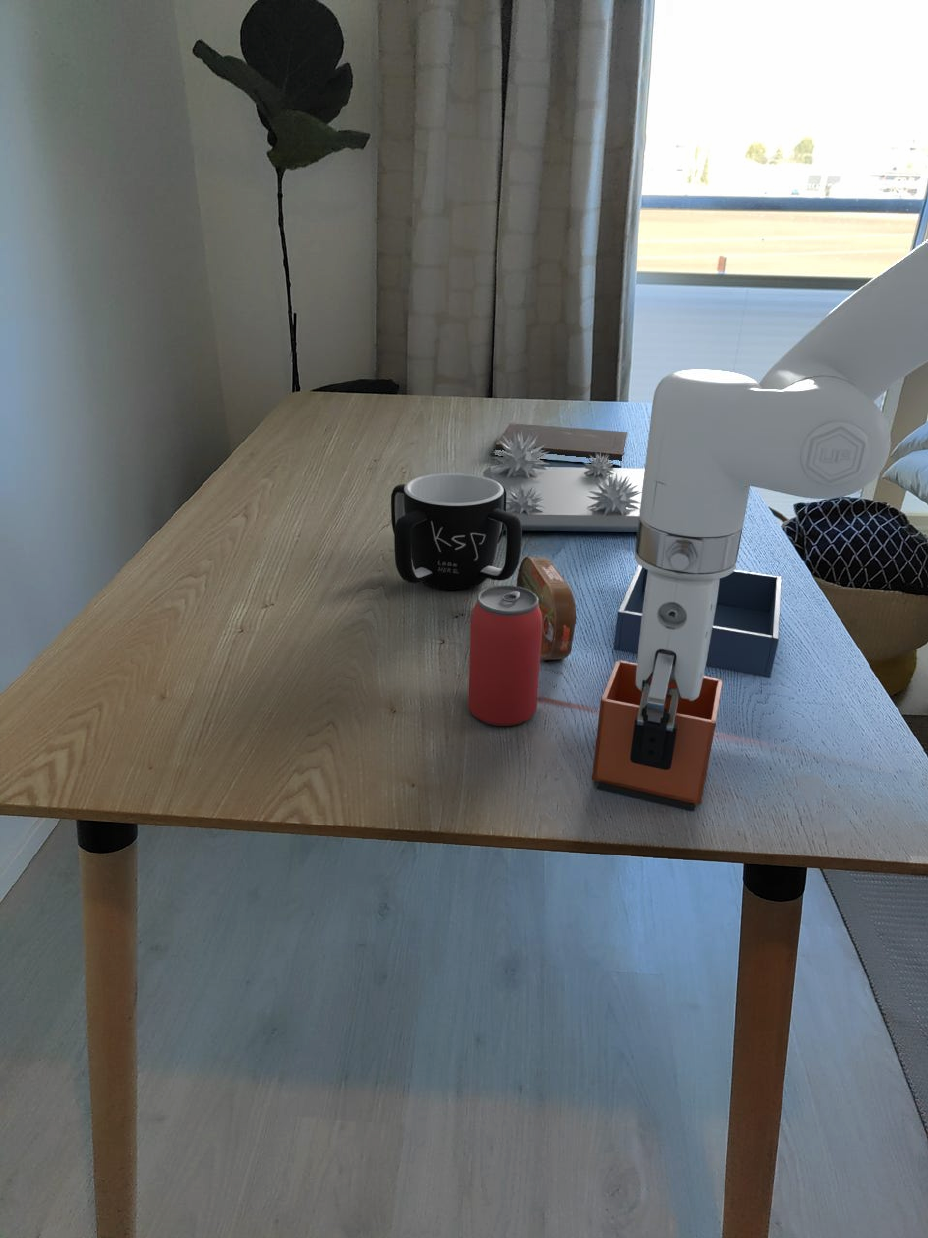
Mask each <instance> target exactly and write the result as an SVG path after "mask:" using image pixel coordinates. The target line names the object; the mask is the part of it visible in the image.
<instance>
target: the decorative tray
mask: <svg viewBox="0 0 928 1238" xmlns="http://www.w3.org/2000/svg"><path fill="white" fill-rule="evenodd" d="M533 434H534V433H533ZM501 436H503V435H502V434H501ZM529 436H530V435H529ZM537 436H538V435H537ZM503 437H504V436H503ZM532 437H533V435H532V436H531V437H530V439H529V437H528V438H527V440H526V442H525V443H524V444H523V437H522V430H521V436H520V437H519V433H518V438H516V435H515V432H514V444H513V443H512V441H511V440H510V442H509V441H508V440H507V439H506V438H505V437H504V439H505V441H506V443H507V444H508V446H509V447H508V446H506V445H505V444H504V443H502V442H501V441H499V442H500V443H501V445H502V446H503V447H504V449H505V450H506V452H507V453H503V452H496V451H495V450H494V451H493V453H494V454H495V453H496V454H499V455H501V456H503V457H501V456H491V459H495V460H497V461H499V462H502V463H500V464H498V465H490V466H489V467H488V468H486V469H485V470H484V471H483V472H482V474H483V475H482V476H483V477H486V478H489V479H492V480H494V481H496V482H498V483H499V484H501V485H503V486H504V487H505V490H506V512H509V513H511V514H514V515H516V516H517V517H518V518H519V520H520V522H521V526H522V531H547V532H549V531H551V532H553V531H554V532H608V533H609V532H611V533H612V532H616V533H619V532H620V533H621V532H622V533H637V530H638V521H639V512H640V505H641V496H642V488H643V479H644V471H645V468H625V467H623V468H622V467H621V468H620V467H619V468H617V467H614V466H613V465H615V464H613V463H610V462H611V461H613V460H611V461H609V462H608V460H609V459H610V458H609V459H607V458H608V456H609V455H608V456H607V454H606V456H607V457H606V456H605V457H604V455H603V457H602V458H601V452H600V457H599V456H598V455H597V453H596V460H595V459H594V458H592V457H593V456H592V457H591V456H590V457H591V458H592V460H593V461H591V460H590V459H589V458H588V459H589V461H590V462H591V464H585V463H583V464H584V465H586V466H584V467H565V466H562V467H561V466H542V465H549V463H547V462H544V461H543V460H538V459H537V458H539V457H541V456H543V455H544V454H546V453H548V452H545V453H541V452H543V451H544V450H541V451H539V450H540V449H541V448H542V447H544V446H545V445H544V446H541V447H538V448H536V449H533V448H534V446H535V445H536V443H537V441H536V442H535V440H536V438H537V437H536V438H535V439H534V440H533V441H532V443H531V444H530V442H531V439H532ZM534 442H535V443H534ZM529 444H530V445H529ZM605 458H606V459H605ZM504 531H506V526H505V527H504Z"/></svg>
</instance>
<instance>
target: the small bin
mask: <svg viewBox="0 0 928 1238" xmlns="http://www.w3.org/2000/svg"><path fill="white" fill-rule="evenodd" d="M636 669H637V662H632V661H626V660H620V659H616V661H615V663H614V666H613V668H612V670H611V674H610V676H609V679H608V680H607V683H606V686H605V689H604V691H603V693H602V697H601V699H600V703H599V713H598V719H597V721H598V722H597V729H596V730H597V731H596V738H595V747H594V757H593V767H592V775H591V781H594V782H598V783H599V782H603V783H607V784H611V785H616V786H620V787H625V788H629V789H633V790H638V791H642V792H646V793H651V794H655V795H659V796H664V797H668V798H673V799H677V800H681V801H686V802H690V803H694V804H695V805H700V806H701V805H702V801H703V800H702V799H703V794H704V789H705V785H706V779H707V773H708V767H709V762H710V758H711V757H710V756H711V752H712V747H713V741H714V737H715V730H716V726H717V718H718V713H719V707H720V703H721V702H720V701H721V697H722V696H721V694H722V689H723V684H724V683H723V682H724V679H722V678H718V677H717V678H716V677H711V676H707V675H704V676H703V681H702V685H701V690H700V694H699V697H698V698H697V699H695V700H693V701H689V699H685V698H681V696H680V698H679V701H678V707H677V712H676V717H675V723H674V725H678V726H677V733H676V739H675V745H674V751H673V758H672V764H671V768H670V769H668V770H664V769H659V768H655V767H650V766H645V765H641V764H636V763H633V762H632V761H631V760H630V755H631V747H632V740H633V732H634V725H635V719H636V717H638V713H639V708H640V703H641V698H642V693H643V691H640V690H639V689H638V687H637V686H636ZM651 682H652V677H651ZM651 682H650V684H651ZM668 688H672V689H675V688H676V683H674V682H670V683H669V687H668ZM671 699H672V698H667V697H666V704H665V708H667V709H668V713H669V709H670V704H671Z"/></svg>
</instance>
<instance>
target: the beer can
mask: <svg viewBox="0 0 928 1238" xmlns="http://www.w3.org/2000/svg"><path fill="white" fill-rule="evenodd" d="M538 603H539V602H538V597H537V596H536V595H535V594H534V593H533V592H531V591H530V590H528V589H525V588H522V587H517V585H510V584H509V585H507V584H502V585H494V586H489V587H486V588H485V589H482V590H481V591H480V592H479V593H478V594H477V596H476V602H475V604H474V606H473V608H472V613H471V615H470V627H469V630H470V631H469V657H468V658H469V660H468V663H469V664H468V693H467V694H468V695H467V698H468V699H467V706H468V710H469V711H470V713H471V715H473V716H474V717H475V718H476V719H477V720H479V721H481V722H483V723H485V724H487V725H490V726H491V725H492V726H496V727H511V726H518V725H520V724H523V723H526V722H527V721H528V720H529V719H531V718H532V717H533V716H534V714H535V713H536V711H537V707H538V696H539V695H538V692H539V678H540V667H541V665H540V664H541V640H542V626H543V622H542V614H541V611H540V608H539V605H538Z"/></svg>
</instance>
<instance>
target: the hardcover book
mask: <svg viewBox="0 0 928 1238" xmlns="http://www.w3.org/2000/svg"><path fill="white" fill-rule="evenodd" d="M521 430H522V437H523V444H524V443H525V442H526V440H527V438H528V437H529V439H530V437H531V436H532V435H533V437H532V439H531V442H530V444H531V443H532V441H533V440H534V439H535V438H536V437H537V438H536V440H535V442H536V441H537V443H536V445H535V446H534V448H533V449H536V448H538V447H541V446H544V445H545V446H544V447H542V448H541V449H540V450H539V451H541V450H544V451H543V452H541V453H545V452H548V453H546V454H557V455H565V456H576V457H586V458H591V457H592V456H593V457H592V458H596V453H597V455H598V456H599V457H600V452H601V458H602V457H603V455H604V457H605V456H606V454H607V456H608V455H609V456H608V458H607V459H609V458H610V459H609V460H619V461H622V456H623V452H624V447H625V443H626V444H627V438H628V432H627V431H617V430H616V431H615V430H605V429H592V428H591V429H590V428H578V427H565V426H564V427H563V426H551V425H539V424H527V423H526V424H525V423H513V422H511V423H509V425H508V426H507V427H506V429H505V431H503V433H502V434H501V436H500V437H499V439H498V440H497V441H496V442H495V445H494V451H495V450H501V451H502V450H504V451H506V450H505V449H504V447H503V446H502V445H501V443H500V442H499V441H501V442H502V443H504V444H505V445H506V446H508V444H507V443H506V441H505V439H504V437H505V438H506V439H507V440H508V441H509V442H510V440H511V441H512V443H513V444H514V432H515V435H516V438H518V433H519V437H520V436H521ZM533 433H534V434H533ZM502 435H503V436H504V437H503V436H502ZM529 435H530V436H529ZM537 435H538V436H537ZM535 442H534V443H535ZM530 444H529V445H530ZM508 447H509V446H508ZM625 448H626V447H625ZM624 453H625V452H624ZM590 456H591V457H590ZM607 456H606V457H607ZM605 459H606V458H605ZM622 462H623V461H622Z"/></svg>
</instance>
